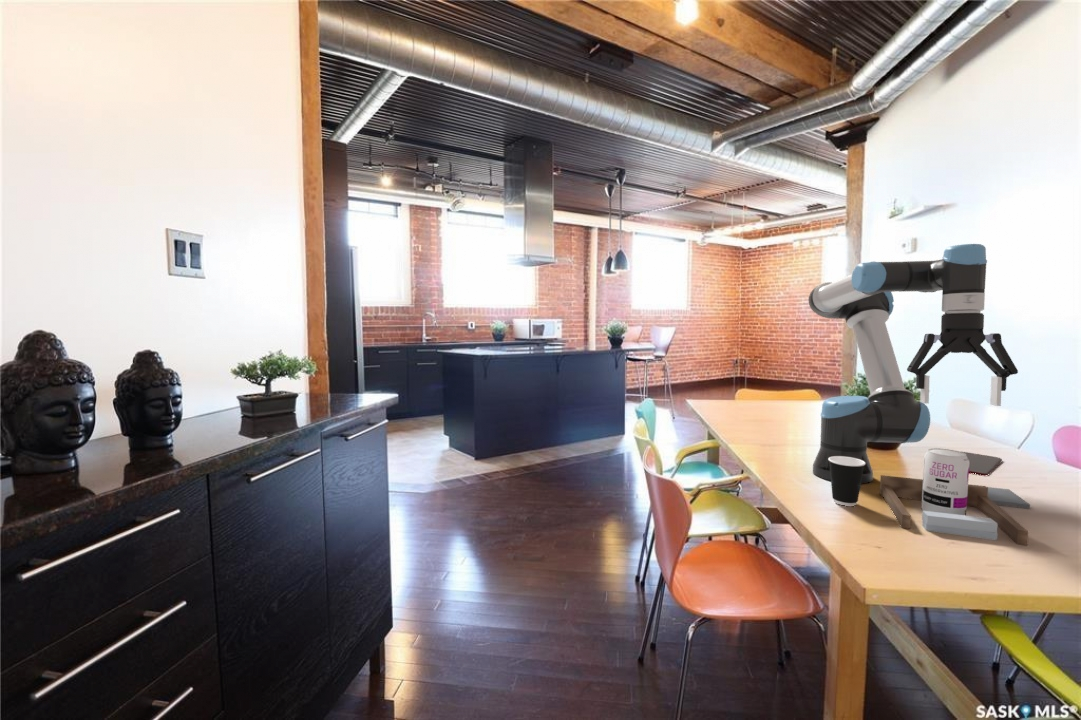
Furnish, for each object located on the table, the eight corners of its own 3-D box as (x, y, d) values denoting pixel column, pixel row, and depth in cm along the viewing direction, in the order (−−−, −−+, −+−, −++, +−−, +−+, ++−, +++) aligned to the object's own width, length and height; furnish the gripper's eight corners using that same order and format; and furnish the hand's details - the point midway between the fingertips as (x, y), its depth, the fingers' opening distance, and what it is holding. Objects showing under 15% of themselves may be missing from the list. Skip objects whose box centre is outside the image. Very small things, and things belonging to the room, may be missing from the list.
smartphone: (934, 465, 154) (954, 450, 170) (934, 469, 154) (954, 454, 170) (987, 474, 144) (1003, 457, 160) (987, 479, 145) (1003, 462, 160)
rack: (900, 527, 110) (901, 505, 109) (879, 493, 131) (880, 475, 131) (1028, 545, 101) (1030, 521, 100) (984, 505, 122) (985, 486, 122)
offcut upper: (927, 524, 108) (927, 515, 108) (922, 519, 111) (922, 510, 110) (996, 532, 103) (997, 523, 103) (989, 527, 106) (990, 518, 106)
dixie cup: (871, 508, 121) (873, 464, 120) (839, 509, 120) (841, 465, 120) (849, 497, 129) (851, 455, 128) (819, 498, 128) (821, 456, 127)
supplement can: (956, 510, 119) (959, 449, 118) (972, 523, 112) (977, 458, 111) (915, 506, 122) (919, 446, 121) (929, 519, 114) (933, 455, 113)
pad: (966, 501, 125) (967, 497, 125) (951, 486, 136) (951, 483, 136) (1029, 508, 120) (1030, 504, 120) (1008, 492, 131) (1009, 489, 131)
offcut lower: (925, 532, 108) (926, 523, 108) (922, 527, 111) (922, 518, 111) (996, 542, 103) (997, 533, 103) (991, 536, 106) (991, 527, 106)
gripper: (904, 312, 115) (901, 403, 116) (1041, 310, 107) (1037, 408, 108) (893, 314, 122) (890, 399, 123) (1020, 312, 114) (1016, 404, 115)
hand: (959, 404), depth 116 cm, fingers open, 13 cm apart
